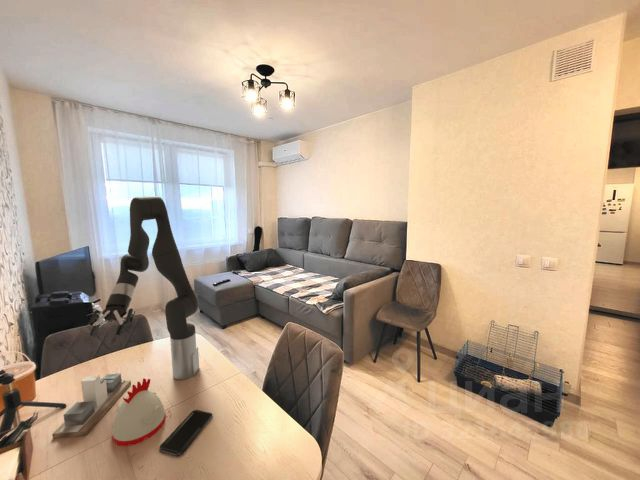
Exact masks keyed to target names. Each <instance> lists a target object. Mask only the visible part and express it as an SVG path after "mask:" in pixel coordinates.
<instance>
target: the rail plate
mask: <svg viewBox="0 0 640 480" xmlns="http://www.w3.org/2000/svg"><path fill="white" fill-rule="evenodd" d="M101 379H104V380H106V386H107V395H108V397H107V398H106V399H105V400H104V401H103V402H102V403H101V404H100V405H99V406H98V407H97V408H94V401H88V402H84V401H77V402H75V403H74V404H73V405H72V406H71V407H70V408H69V409H67V410H66V412H65V413H63V420H64V421H63V423H62V424H61V425H60V426H59V427H58V428H57V429H55V431H53V433H52V435H51V436H52V439H60V438H73V437H74V438H75V437H83V436H84V437H85V436H87V435H88V433H90V431H91V430H92V429H93V428H94V427H95V426H96V424H97V423H99V421H100V420H101V419H102V417H104V415H105V414H106V413H107V412H108V411H109V410H110V409H111V407H112V406H113V405H114V404H115V403H116V402H117V401H118V399H119V398H120V397H121V396H122V395H123V394H124V393H125V391H127V389H128V388H129V387H130V386H131V384H132V381H131V380H126V379H122V373H108V374H105V376H103V377H102V378H101Z"/></svg>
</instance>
